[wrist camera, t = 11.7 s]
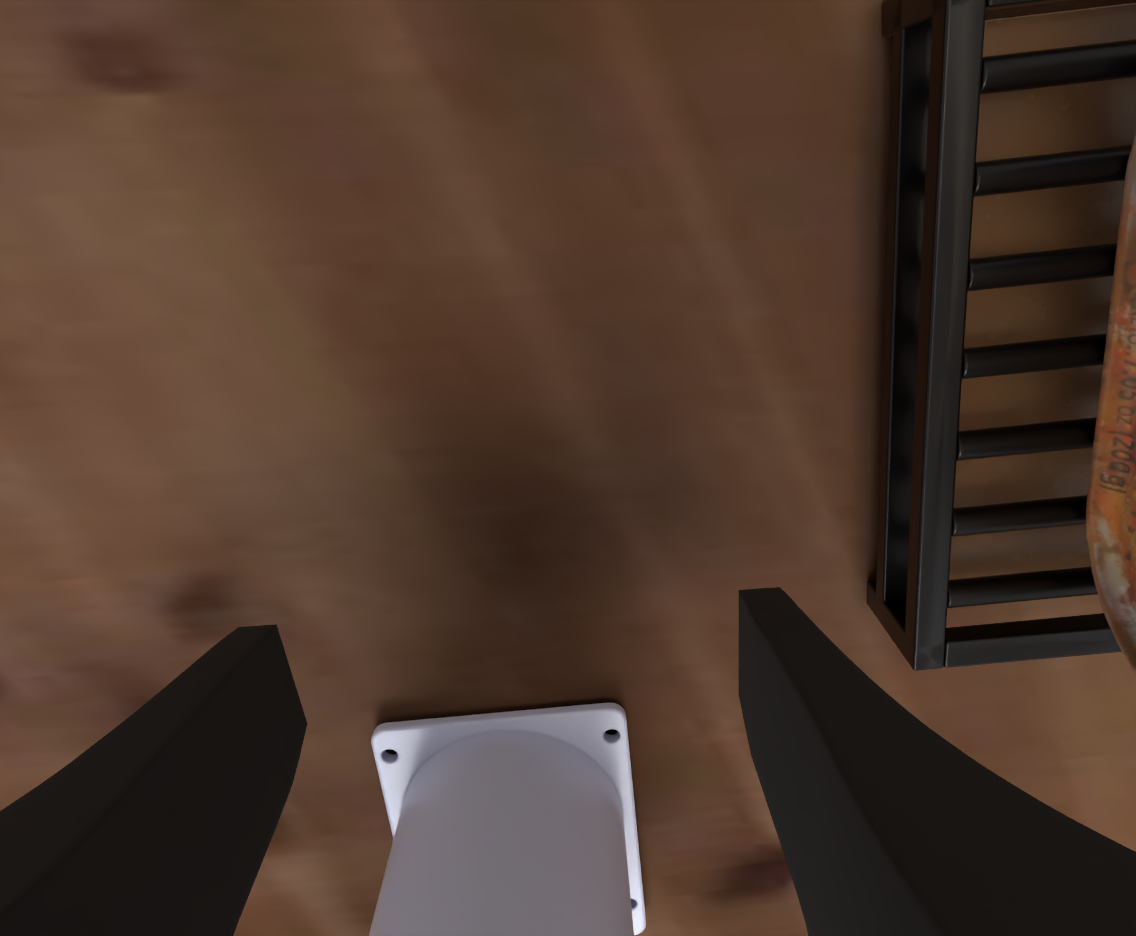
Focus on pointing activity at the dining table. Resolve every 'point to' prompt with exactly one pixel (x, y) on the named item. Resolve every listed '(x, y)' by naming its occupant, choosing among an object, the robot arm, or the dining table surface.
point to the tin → (1117, 442)
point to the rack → (997, 317)
